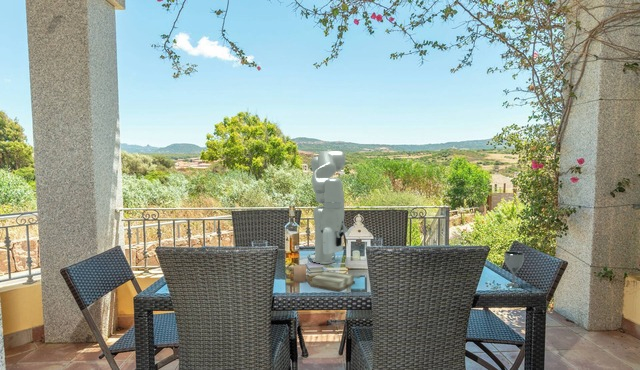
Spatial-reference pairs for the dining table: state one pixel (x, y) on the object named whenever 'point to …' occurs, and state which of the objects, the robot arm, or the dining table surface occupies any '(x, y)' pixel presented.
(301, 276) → the tan short cylinder
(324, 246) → the grey rounded block
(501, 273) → the dining table surface
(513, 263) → the wine glass
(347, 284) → the beige ridged block
